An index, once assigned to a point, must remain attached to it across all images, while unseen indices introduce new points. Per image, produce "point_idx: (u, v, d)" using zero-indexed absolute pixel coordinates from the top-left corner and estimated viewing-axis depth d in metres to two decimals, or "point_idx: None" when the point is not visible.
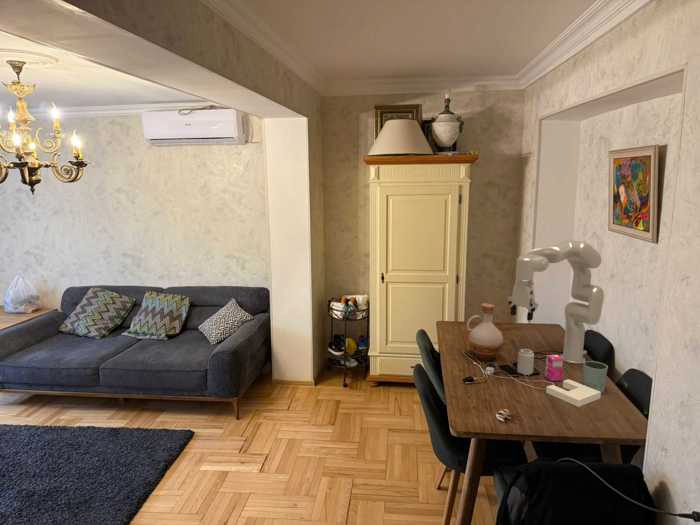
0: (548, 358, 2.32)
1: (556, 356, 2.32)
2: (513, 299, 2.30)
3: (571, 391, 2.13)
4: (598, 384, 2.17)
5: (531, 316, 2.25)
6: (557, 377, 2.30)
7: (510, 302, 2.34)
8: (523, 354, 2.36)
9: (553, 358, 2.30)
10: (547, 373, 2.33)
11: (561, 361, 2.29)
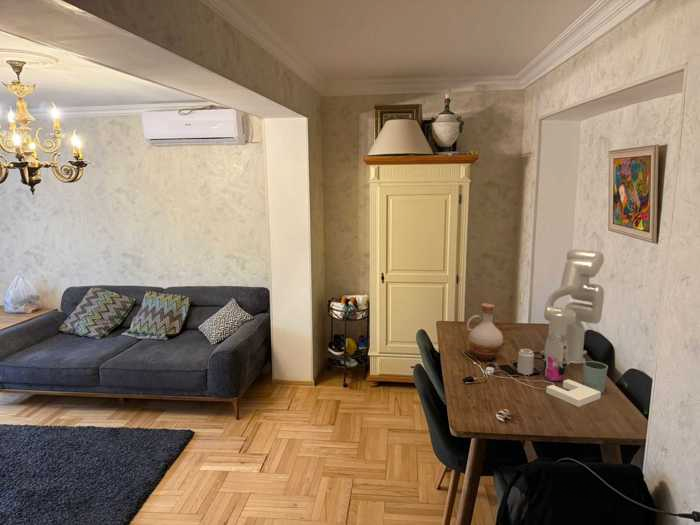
0: (548, 358, 2.32)
1: None
2: (546, 352, 2.33)
3: (571, 391, 2.13)
4: (598, 384, 2.17)
5: (563, 371, 2.28)
6: (557, 377, 2.30)
7: (543, 356, 2.36)
8: (523, 354, 2.36)
9: (553, 358, 2.30)
10: (547, 373, 2.33)
11: None
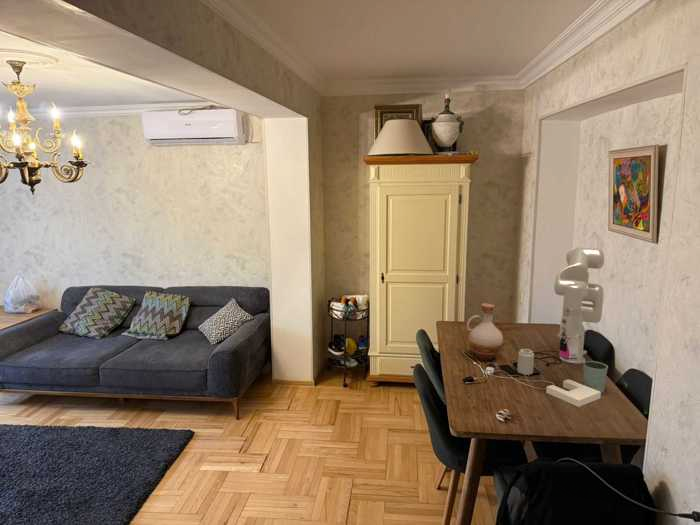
0: None
1: None
2: None
3: (571, 391, 2.13)
4: (598, 384, 2.17)
5: (561, 346, 2.13)
6: (562, 352, 2.15)
7: None
8: (523, 354, 2.36)
9: None
10: None
11: None
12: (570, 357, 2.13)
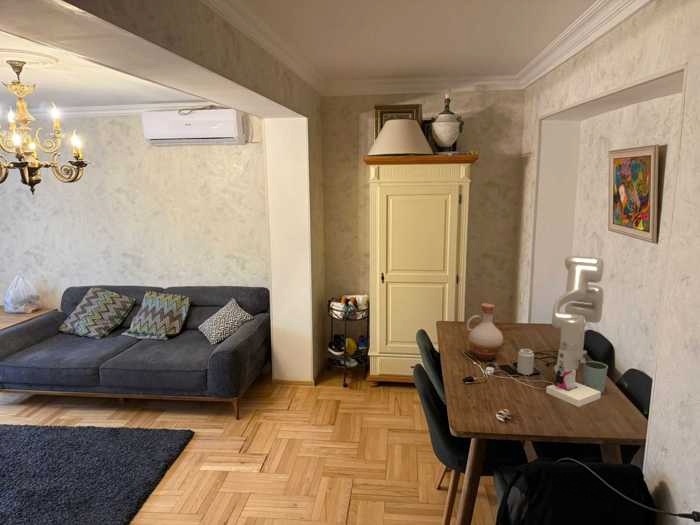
0: None
1: None
2: None
3: (571, 391, 2.13)
4: (598, 384, 2.17)
5: (557, 379, 2.15)
6: None
7: None
8: (523, 354, 2.36)
9: None
10: None
11: None
12: None
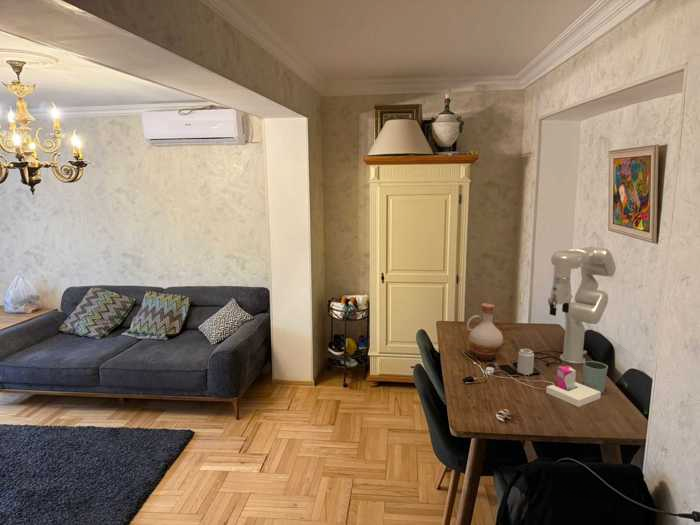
0: None
1: (569, 369, 2.16)
2: None
3: (571, 391, 2.13)
4: (598, 384, 2.17)
5: (551, 311, 2.34)
6: None
7: None
8: (523, 354, 2.36)
9: (561, 367, 2.19)
10: None
11: (562, 373, 2.16)
12: None
